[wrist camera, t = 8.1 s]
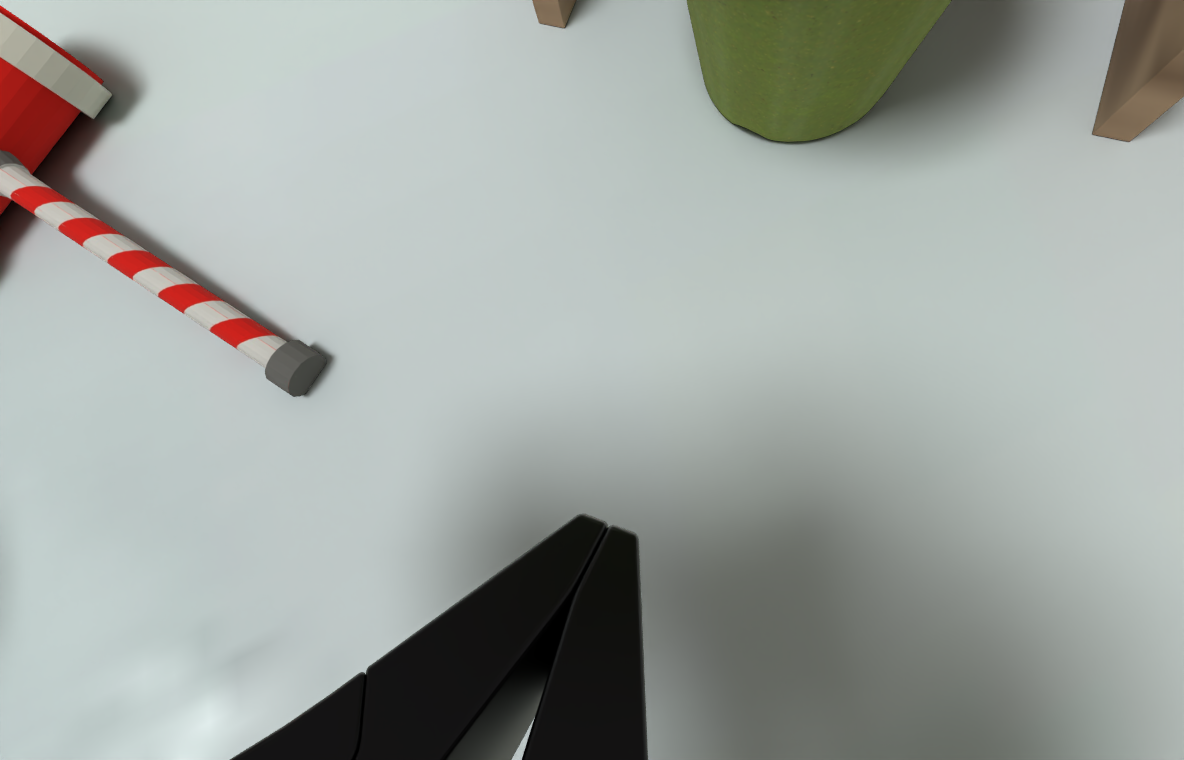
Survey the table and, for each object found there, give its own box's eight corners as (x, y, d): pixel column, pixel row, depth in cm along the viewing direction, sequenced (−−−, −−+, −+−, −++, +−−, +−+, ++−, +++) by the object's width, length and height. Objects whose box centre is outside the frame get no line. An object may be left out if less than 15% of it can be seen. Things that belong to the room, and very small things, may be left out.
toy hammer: (405, 265, 25) (314, 186, 19) (237, 508, 24) (84, 507, 18) (62, 59, 31) (-94, -55, 25) (-89, 249, 30) (-292, 180, 23)
